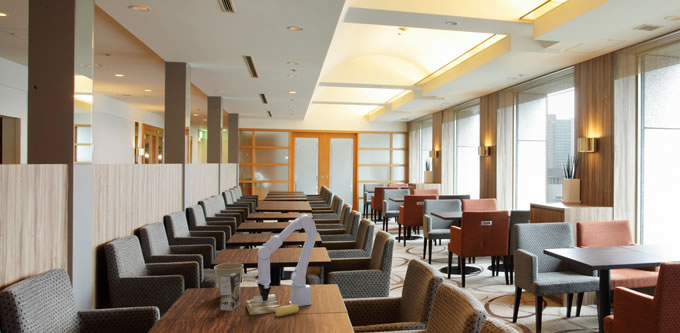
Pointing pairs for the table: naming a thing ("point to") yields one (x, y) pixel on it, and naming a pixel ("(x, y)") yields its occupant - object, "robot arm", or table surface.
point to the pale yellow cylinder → (286, 310)
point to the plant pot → (226, 268)
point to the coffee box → (230, 291)
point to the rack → (261, 307)
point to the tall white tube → (259, 299)
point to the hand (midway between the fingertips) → (264, 299)
